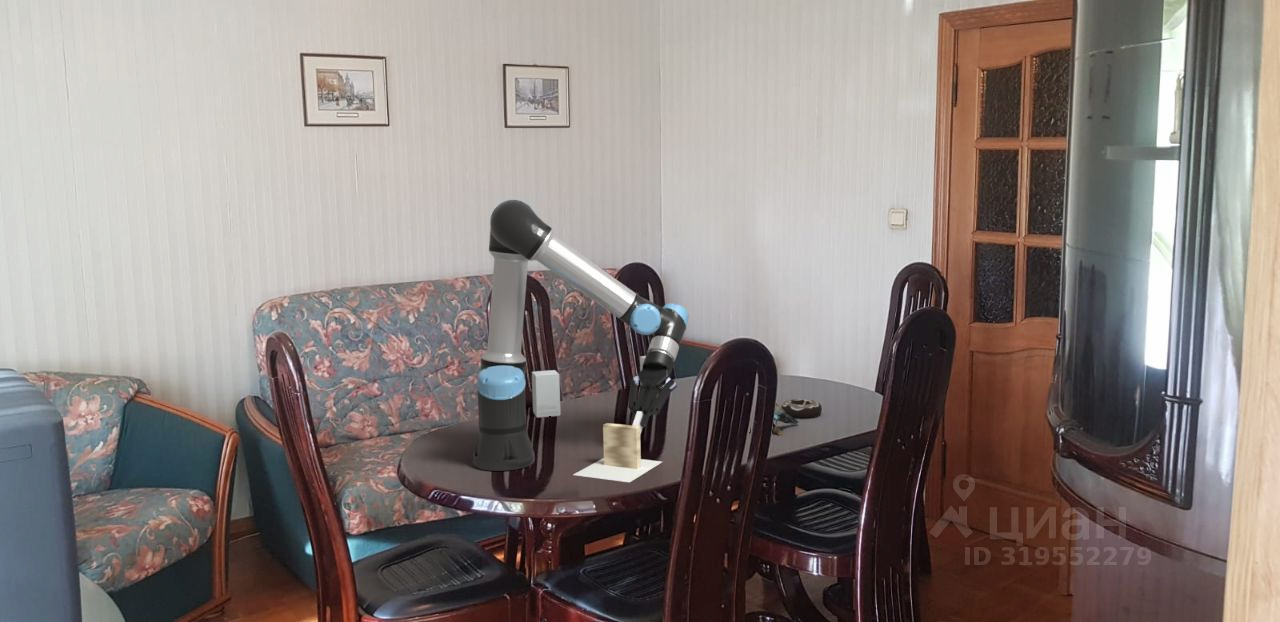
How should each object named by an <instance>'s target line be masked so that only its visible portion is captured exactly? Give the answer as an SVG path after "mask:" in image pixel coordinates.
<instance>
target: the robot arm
mask: <svg viewBox="0 0 1280 622" xmlns="http://www.w3.org/2000/svg"><path fill="white" fill-rule="evenodd" d="M489 222H490V225H489V228H490V229H489V245H488V252H489V253H490V255H491V256H492V257H493V259H494V260H493V270H492V271H493V272H492V273H493V274H492V282H491V283H492V284H491V285H492V286H491V298H490V300H491V301H490V314H489V326H488V341H487V342H488V343H487V350H486V351H485V352H483V354H482V355H481V356H480V367H479V368H480V371H479V372H478V374H477V376H476V384H475V385H476V389H477V410H478V413H477V414H478V429H479V430H478V432H479V434H478V437H477V441H476V444H475V447H474V450H473V451H474V452H473V454H472V455H473V456H472V460H473V461H472V463H473V466H474V467H475V468H477V469H480V470H482V471H483V470H484V471H492V472H494V471H495V472H504V471H514V470H520V469H523V468H527V467H529V466H532V465H533V464H534V463H535V459H536V458H535V451H534V448H533V445H532V442H531V440H530V437H529V435H528V431H527V409H526V385H527V383H526V369H527V366H526V365H527V359H526V357H525V356H524V355H523V354H522V344H523V343H522V341H523V329H524V318H525V316H524V315H525V307H526V304H525V303H526V302H525V301H526V291H527V276H528V265H529V262H532V261H536V262H538V263H540V264H541V265H543V266H544V267H545V268H547V269H548V270H550V272H553V273H554V274H555V275H557V276H558V277H560V278H561V279H562V280H564V281H565V282H567V283H568V284H570V285H571V286H572V287H574V288H575V289H576V290H578V291H579V292H581V293H583V294H584V295H585V296H586V297H588V298H590V299H591V300H592V301H594V302H595V303H597V304H598V305H600V306H601V307H602V308H603V309H605V310H606V311H608V312H609V313H611V315H614V316H615V317H617V318H618V319H619V320H621V322H623V323H625V324H626V325H627V326H629V327H631V329H632V330H633V331H634V332H636V333H637V334H639V335H642V336H648V335H649V336H650V335H652V338H651V340H650V343H649V346H648V349H647V351H646V352H647V353H646V355H645V356H646V357H645V360H644V363H643V368H642V370H641V371H639V373H638V375H636V376H634V377H633V375H631V376H629V377H628V382H629V395H628V405H627V407H628V409H629V411H630V413H631V414H632V416H631V420H630V424H631V426H640V435H642V434H641V433H642V431H643V428H646V427H647V424H648V423H649V418H650V417H651V416H657V415H659V413H660V411H661V409H662V408H663V406H664V405H665V403H666V402H667V399H668V398H669V397H670V394H671V393H672V392H673V391H674V390H675V389H677V383H676V381H675V380H674V379H673V378H671V374H672V371H673V369H674V365H675V361H676V360H677V359H676V358H677V356H678V353H679V349H680V345H681V344H682V340H683V338H684V335H685V332H686V330H687V327H688V321H689V312H688V310H687V309H686V308H685V307H683V306H682V305H680V304H675V303H671V302H670V303H666V304H665V305H663V306H659V305H658V304H655V303H654V302H652V301H650V300H648V299H646V298H644V297H642V296H641V295H639V294H637V293H636V292H635V291H633V290H632V289H631V288H629V287H627V286H626V285H625V284H623V283H622V282H620V281H619V280H618V279H616V278H615V277H613V276H612V275H610V274H609V273H608V272H607V271H605V270H603V269H602V268H601V267H600V266H598V265H596V264H595V263H594V262H593V261H591V260H590V259H588V258H587V257H586V256H584V255H583V254H582V253H580V252H579V251H577V250H576V249H574V248H573V247H572V246H570V245H569V244H567V243H566V242H564V241H563V240H562V239H561V238H559V237H557V236H556V235H555V233H554V229H553V228H552V227H551V226H549V225H548V224H547V223H545V222H544V221H543V220H542V219H541V218H540V217H539V216H538V215H537V214H536V213H535V210H534V209H533V208H532V206H530V205H529V204H528V203H526V202H525V201H523V200H518V199H508V200H504V201H502V202H501V203H499V204H498V205H497V206H496V207H494V209H493V211H492V213H491V215H490V221H489ZM639 383H640V384H639ZM641 383H642V384H641ZM639 385H640V389H639V390H640V391H639V393H638V386H639ZM663 386H664V387H663ZM662 387H663V388H662Z"/></svg>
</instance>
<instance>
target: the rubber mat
mask: <svg viewBox="0 0 1280 622" xmlns="http://www.w3.org/2000/svg"><path fill="white" fill-rule="evenodd" d="M662 463H663V461H660V460H651V459H644V458H643V459H642V458H641V467H640V468H638V469H632V468H624V467H616V466H608V465H604V457H603V458H601V459H599V460H597V461H595V462H594V463H592V464H590V465H588V466H586V467H584V468H583V469H581V470H579V471H577V472H575V473H574V474H572V476H576V477H578V476H579V477H585V478H591V479H592V478H593V479H601V480H608V481H615V482H623V483H631V482H633V481H634V480H636V479H638V478H639V477H641V476H642V475H644V474H647V473H648V471H650V470H652V469H653V468H655V467H657V466H658V465H660V464H662Z"/></svg>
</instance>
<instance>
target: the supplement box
mask: <svg viewBox="0 0 1280 622" xmlns="http://www.w3.org/2000/svg"><path fill="white" fill-rule="evenodd" d="M560 384H561V382H560V374H559V372H557V370H555V369H553V370H552V369H551V370H537V371H536V370H535V371H531V389H532V390H531V391H532V393H531V394H532V413H533V415H535V417H536V418H548V417H549V416H551V417H560V416H561V414H562V413H561V391H560V389H561V388H560V387H561V385H560Z"/></svg>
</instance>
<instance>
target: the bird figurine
mask: <svg viewBox="0 0 1280 622" xmlns="http://www.w3.org/2000/svg"><path fill="white" fill-rule="evenodd" d="M773 421H775V423H774V422H773V429H771V430H772V432H773V433H774V434H776V435H778V436H781V435H783V433H784V432H783V430H781V429H780V427H779V426H778V422H781V423H784V424H790V425H792V426H794V427H795V426H796V425H797V424H799V423H800V422H799V421H798V420H797V418H792V417H791V416H789V415H788V414H787V413H786V412H785V411H784V410H783V409H782V408H781V406H779V404H778V403H777V402H776V407H775V414H774V420H773Z"/></svg>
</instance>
